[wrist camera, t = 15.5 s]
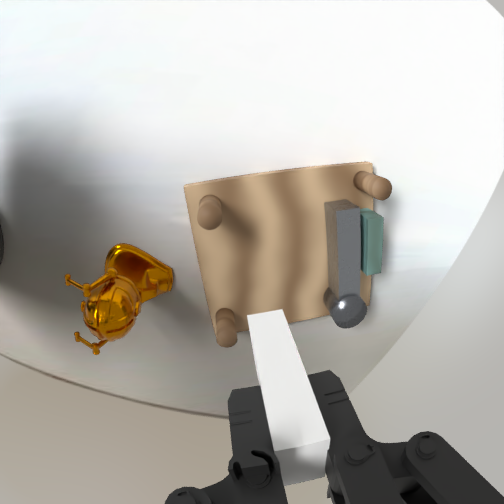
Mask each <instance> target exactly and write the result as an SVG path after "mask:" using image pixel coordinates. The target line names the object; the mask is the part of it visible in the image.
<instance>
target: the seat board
mask: <svg viewBox="0 0 504 504" xmlns="http://www.w3.org/2000/svg"><path fill="white" fill-rule="evenodd" d="M184 192H185V197H186V202H187V208H188V213H189V218H190V223H191V228H192V233H193V238H194V243H195V248H196V253H197V258H198V262H199V267H200V272H201V276H202V281H203V285H204V290H205V294H206V298H207V303H208V307H209V311H210V315H211V320H212V324H213V328H214V332H215V336H216V340H217V343H218V344H219V345H220V346H222V347H232V346H233V345H235V344H236V342H237V333H236V332H242V331H248V330H249V325H248V319H247V315H252V314H258V313H264V312H269V311H275V310H280V309H282V310H283V312H284V315H285V318H286V320H287V323H292V322H297V321H302V320H307V319H312V318H316V317H321V316H326V315H330V313H329V311H328V309H327V308H326V306H325V304H324V302H323V296H324V293H325V291H326V290H327V288H328V287H329V286H328V259H327V239H326V222H325V208H324V202H330V201H337V200H344V199H347V200H348V201H350V202H352V203H353V204H355V205H357V206H358V207H360V230H361V271H360V297H361V298H362V299H363V301H364V302H365V303H366V306H369V303H370V290H371V275H373V274H377V273H381V265H382V247H383V217H382V216H380V215H379V214H377V213H375V212H374V211H373V197H374V198H376V199H378V200H385V199H387V198H388V197H389V196H390V194H391V192H392V185H391V183H390V181H389V180H387V179H385V178H383V177H380V176H377V175H374V174H373V168H372V163H369V162H356V163H344V164H332V165H322V166H312V167H303V168H294V169H285V170H277V171H269V172H262V173H255V174H248V175H241V176H234V177H227V178H221V179H215V180H209V181H203V182H197V183H191V184H186V185H184Z"/></svg>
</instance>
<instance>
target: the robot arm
mask: <svg viewBox="0 0 504 504" xmlns="http://www.w3.org/2000/svg"><path fill="white" fill-rule="evenodd" d="M2 256H3V236H2V230H1V226H0V264H1V261H2ZM247 319H248V325H249V331H250V337H251V343H252V349H253V355H254V360H255V366H256V371H257V376H258V381H259V386H254V387H248V388H242V389H235V390H232V392H231V395H230V397H229V399H228V411H229V421H230V431H231V441H232V450H233V457H232V458H231V460H230V461H229V466H228V471H229V475H228V476H227V477H226V478H224V479H223V480H222V481H220V482H218V483H216V484H214V485H211V486H208V487H205V488H202V489H198V488H195V487H182V488H179V489H176V490H175V491H173V492H172V493H171V494H169V496H168V498H167V500H166V501H165V504H288V502H287V497H286V493H285V489H284V486H286V485H291V484H296V483H301V482H305V481H309V480H314V479H317V478H322V477H324V476H325V473H326V475H327V478H328V481H329V486H328V491H327V498H330V497H331V499H332V502H333V504H504V497H503V496H502V495H501V494H500V493H499V492H498V491H497V490H496V489H495V488H494V487H493V486H492V485H491V484H490V483H489V482H488V481H487V480H486V479H485V478H483V476H481V475H480V474H479V473H478V472H477V471H476V470H475V469H474V468H473V467H472V466H471V465H470V464H469V463H468V462H467V461H466V460H465V459H464V458H463V457H462V456H461V455H460V454H459V453H458V452H457V451H455V449H454V448H452V447H451V446H450V445H449V444H448V443H447V442H446V441H445V440H444V439H443V438H442V437H441V436H439V435H438V434H436V433H433V432H429V431H427V432H420V433H418V434H416V435H414V436H413V437H412V438H411V439H410V440H409V441H408V442H400V443H380V442H377V441H375V440H373V439H371V438H370V437H369V436H368V435H366V433H365V431H364V430H363V427H362V425H361V423H360V421H359V419H358V417H357V414H356V412H355V410H354V408H353V406H352V404H351V401H350V400H349V397H348V395H347V393H346V391H345V389H344V387H343V384H342V382H341V380H340V378H339V377H337V376H336V375H335V374H334V373H333V372H331V371H330V370H327V371H323V372H319V373H315V374H311V375H307V374H306V371H305V369H304V366H303V363H302V360H301V358H300V355H299V352H298V350H297V347H296V344H295V342H294V339H293V336H292V334H291V331H290V328H289V326H288V323H287V320H286V318H285V315H284V312H283V310H282V309H280V310H275V311H269V312H264V313H258V314H252V315H247Z"/></svg>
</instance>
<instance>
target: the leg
mask: <svg viewBox="0 0 504 504" xmlns="http://www.w3.org/2000/svg"><path fill="white" fill-rule="evenodd" d="M324 208H325V222H326V239H327V259H328V286H329V287H328V288H327V290H326V291H325V293H324V296H323V302H324V304H325V306H326V308H327V309H328V311H329V313H330V315H331V316H332V318H333V320H334V321H335V323H336V325H337V326H339V327H341V328H351V327H354V326H356V325H357V324H359V323H360V322H361V321H362V320H363V319H364V317H365V315H366V312H367V306H366V303H365V302H364V301H363V299H362V298H361V297H360V271H361V230H360V207H358V206H357V205H355V204H353V203H352V202H350V201H348V200H347V199H344V200H337V201H330V202H324Z"/></svg>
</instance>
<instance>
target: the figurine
mask: <svg viewBox="0 0 504 504" xmlns="http://www.w3.org/2000/svg"><path fill="white" fill-rule="evenodd" d="M65 281H66V282H65V284H66V285H67V286H70V285H73V286H75V287H76V288H78V289H80V290H82V291H83V296H84V297H87V299H86V301H82V303H81V311H82V312H83V317H84V322H85V324H86V326H87V327H88V328H89V330H90V332H91V333H92V334H93V335H94V336H96V337H97V338H98V339H99V340H101V341H100V342H99V343H92V344H91V343H89V342H88V341H86V340H85V339H83V338H82V337H81V336H80V333H79V332H75V333H74V335H75V340H76V342H80V341H81V342H82V343H83V344H85V345H86V346H88V347H89V348H91V349H93V354H95V355H98V354H99V353H100V350H99V348H101V347H102V346H103V345H104V344H106V343H107V342H108V341H109V342H113V341H115V340H116V339H121V338H123V337H124V336H125V335H127V334H128V333H129V331H130V330H131V329H132V327H133V326H134V324H135V321H136V316H137V315H138V314H139V313H140V312H141V305H142V303H144V302H145V301H147V300H149V299H152V298H154V297H156V296H158V295H161V294H163V293H166V292H168V291H171V289H172V285H173V271H172V268H170V267H169V266H167V265H165V264H164V263H162V262H160V261H159V260H157V259H156V258H154V257H153V256H151V255H149V254H148V253H146V252H144V251H143V250H141V249H139V248H137V247H135V246H133V245H130V244H125V243H120V244H117V245H115V246H113V247H112V248H111V250H110V251H109V253H108V255H107V258H106V263H105V273H104V275H102V276H101V277H99V278H98V279H97V280H96V281H94V282H93V283H92V284H89V283H84V284H83V285H81V284H79V283H77V282H75V281H74V280H72V279H71V275H70V274H66V275H65Z"/></svg>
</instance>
